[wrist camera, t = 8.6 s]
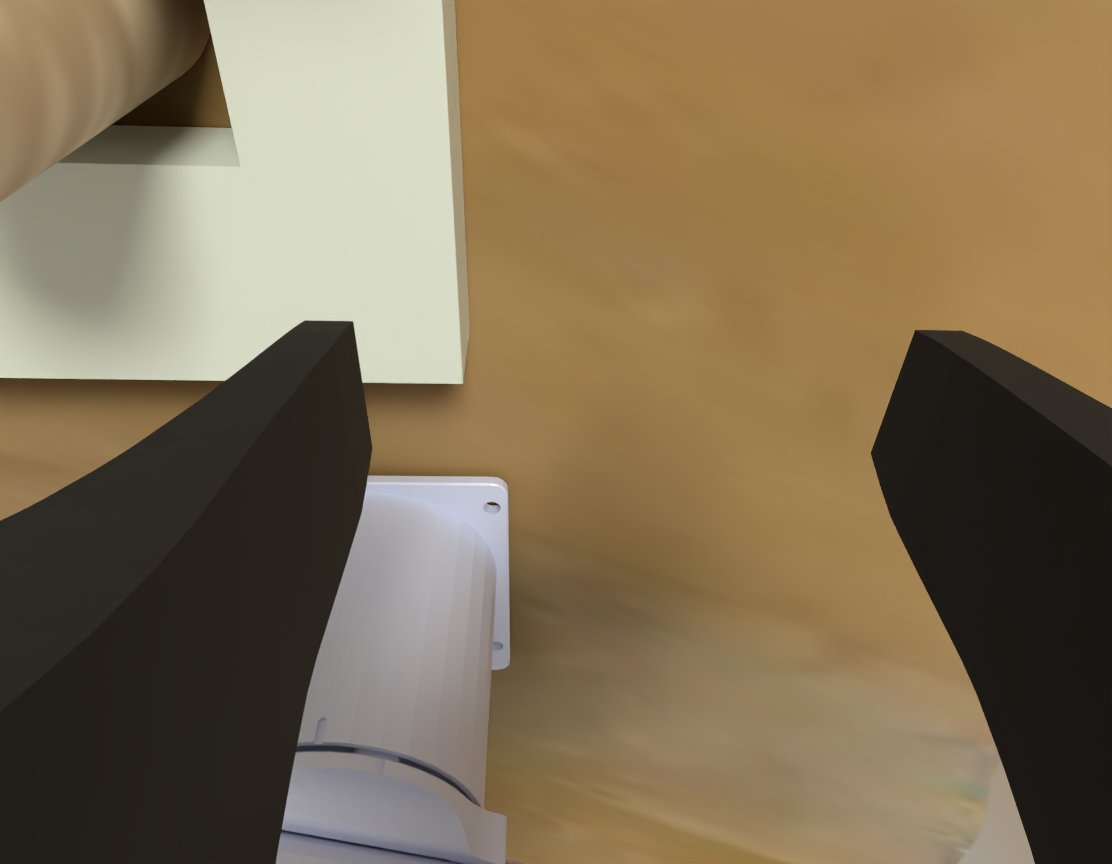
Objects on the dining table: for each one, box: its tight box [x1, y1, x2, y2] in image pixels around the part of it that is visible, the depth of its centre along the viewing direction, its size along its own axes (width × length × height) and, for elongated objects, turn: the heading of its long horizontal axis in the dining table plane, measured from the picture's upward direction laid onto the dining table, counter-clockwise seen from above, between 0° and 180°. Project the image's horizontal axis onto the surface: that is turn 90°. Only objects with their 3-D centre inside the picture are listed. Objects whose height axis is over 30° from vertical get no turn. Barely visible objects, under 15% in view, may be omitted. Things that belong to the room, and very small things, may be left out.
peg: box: [0, 0, 210, 202], centre depth 13 cm, size 4×4×8 cm
